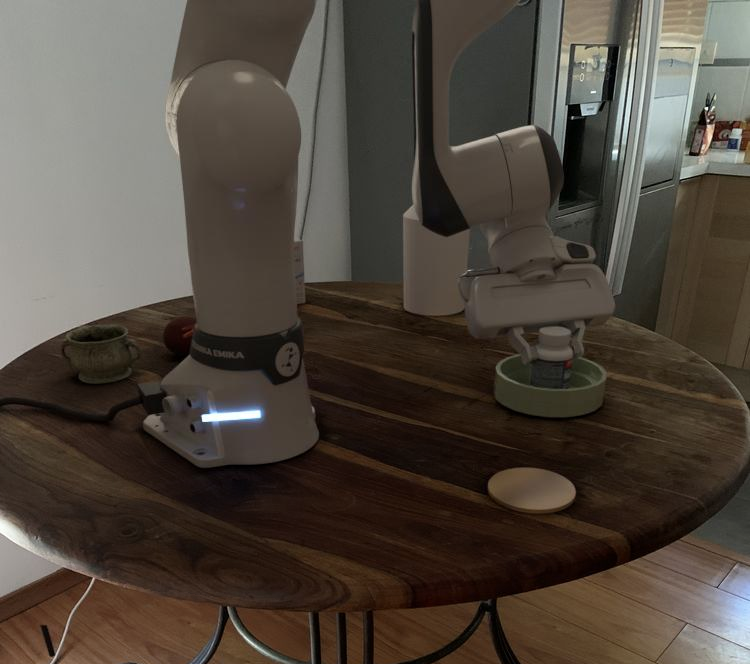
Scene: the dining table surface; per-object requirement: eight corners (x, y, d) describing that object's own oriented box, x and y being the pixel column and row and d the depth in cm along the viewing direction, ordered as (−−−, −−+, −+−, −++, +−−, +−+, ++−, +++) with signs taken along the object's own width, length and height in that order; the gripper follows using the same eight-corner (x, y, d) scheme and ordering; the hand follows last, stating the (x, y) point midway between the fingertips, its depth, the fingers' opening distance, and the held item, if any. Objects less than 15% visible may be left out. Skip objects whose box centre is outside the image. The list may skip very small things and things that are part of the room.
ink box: (264, 309, 136) (258, 243, 131) (255, 303, 140) (249, 238, 134) (306, 303, 140) (303, 238, 134) (296, 297, 144) (292, 234, 138)
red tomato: (198, 344, 119) (193, 307, 116) (229, 357, 114) (224, 318, 111) (156, 354, 115) (150, 316, 112) (186, 369, 109) (181, 329, 106)
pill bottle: (568, 404, 95) (576, 338, 91) (527, 402, 96) (534, 336, 92) (567, 389, 100) (575, 325, 95) (528, 387, 101) (534, 323, 96)
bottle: (479, 308, 136) (488, 160, 123) (428, 319, 130) (433, 165, 117) (438, 295, 144) (443, 155, 132) (389, 305, 138) (389, 159, 126)
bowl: (474, 402, 97) (475, 374, 95) (524, 372, 107) (527, 345, 105) (574, 429, 90) (578, 399, 88) (619, 394, 99) (624, 366, 97)
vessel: (53, 385, 104) (42, 342, 101) (77, 364, 112) (67, 323, 109) (136, 385, 104) (128, 342, 100) (154, 364, 111) (148, 323, 108)
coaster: (471, 495, 76) (471, 491, 76) (513, 463, 82) (513, 459, 82) (551, 523, 71) (551, 519, 71) (589, 487, 77) (590, 483, 77)
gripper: (462, 257, 92) (489, 356, 89) (604, 246, 98) (635, 339, 94) (447, 284, 98) (472, 378, 95) (582, 272, 104) (610, 361, 100)
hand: (554, 359), depth 95 cm, fingers closed on pill bottle, 5 cm apart
